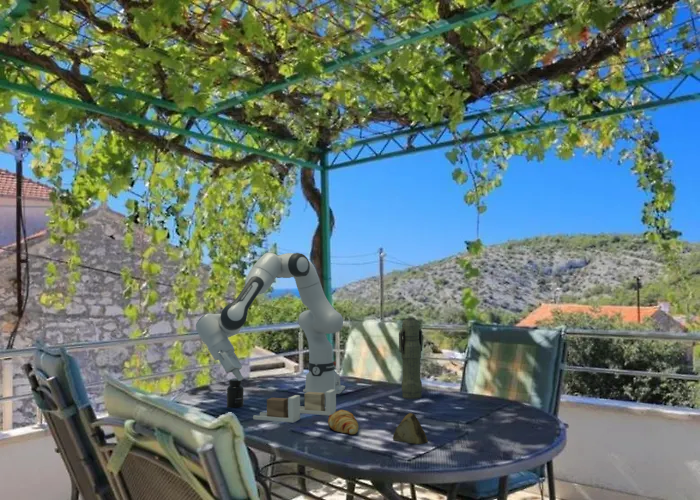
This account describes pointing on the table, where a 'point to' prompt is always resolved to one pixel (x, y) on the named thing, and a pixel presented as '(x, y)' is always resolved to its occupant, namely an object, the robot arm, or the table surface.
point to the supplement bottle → (234, 394)
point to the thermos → (411, 358)
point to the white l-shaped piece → (330, 405)
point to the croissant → (343, 422)
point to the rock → (410, 431)
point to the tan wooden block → (315, 401)
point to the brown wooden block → (277, 407)
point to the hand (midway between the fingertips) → (241, 379)
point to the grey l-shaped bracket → (292, 412)
